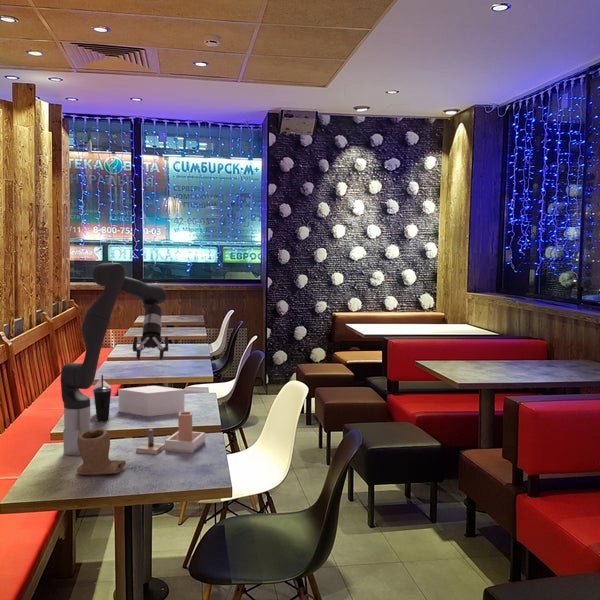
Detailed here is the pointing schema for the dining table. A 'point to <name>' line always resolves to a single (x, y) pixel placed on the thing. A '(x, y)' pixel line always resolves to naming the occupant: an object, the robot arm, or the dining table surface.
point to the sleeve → (185, 426)
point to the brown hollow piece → (97, 453)
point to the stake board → (150, 448)
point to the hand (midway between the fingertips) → (149, 358)
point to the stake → (150, 438)
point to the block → (151, 400)
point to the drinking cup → (102, 402)
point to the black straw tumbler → (99, 384)
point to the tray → (185, 443)
